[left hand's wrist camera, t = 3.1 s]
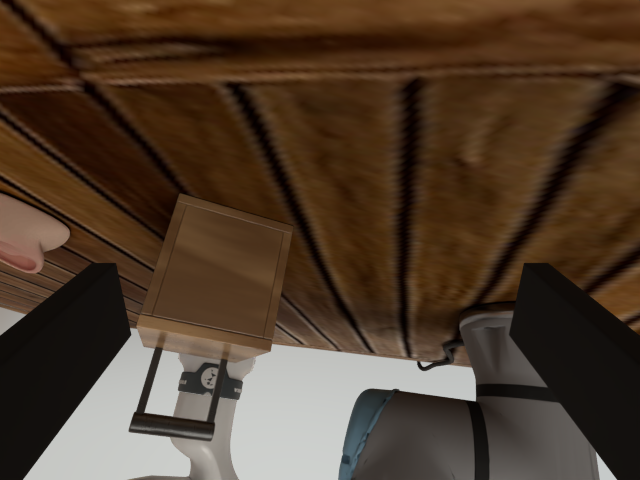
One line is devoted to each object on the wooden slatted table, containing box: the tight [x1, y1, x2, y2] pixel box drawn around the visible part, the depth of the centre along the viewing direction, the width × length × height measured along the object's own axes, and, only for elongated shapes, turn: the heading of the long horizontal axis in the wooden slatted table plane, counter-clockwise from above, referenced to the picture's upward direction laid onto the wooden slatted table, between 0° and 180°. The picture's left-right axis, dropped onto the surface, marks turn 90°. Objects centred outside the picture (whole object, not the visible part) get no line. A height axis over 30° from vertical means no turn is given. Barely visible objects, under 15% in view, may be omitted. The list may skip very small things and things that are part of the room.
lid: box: [129, 314, 272, 442], centre depth 33 cm, size 15×10×8 cm, turn 159°
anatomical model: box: [0, 193, 70, 273], centre depth 40 cm, size 13×4×12 cm
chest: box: [141, 193, 293, 340], centre depth 37 cm, size 15×10×10 cm, turn 159°
